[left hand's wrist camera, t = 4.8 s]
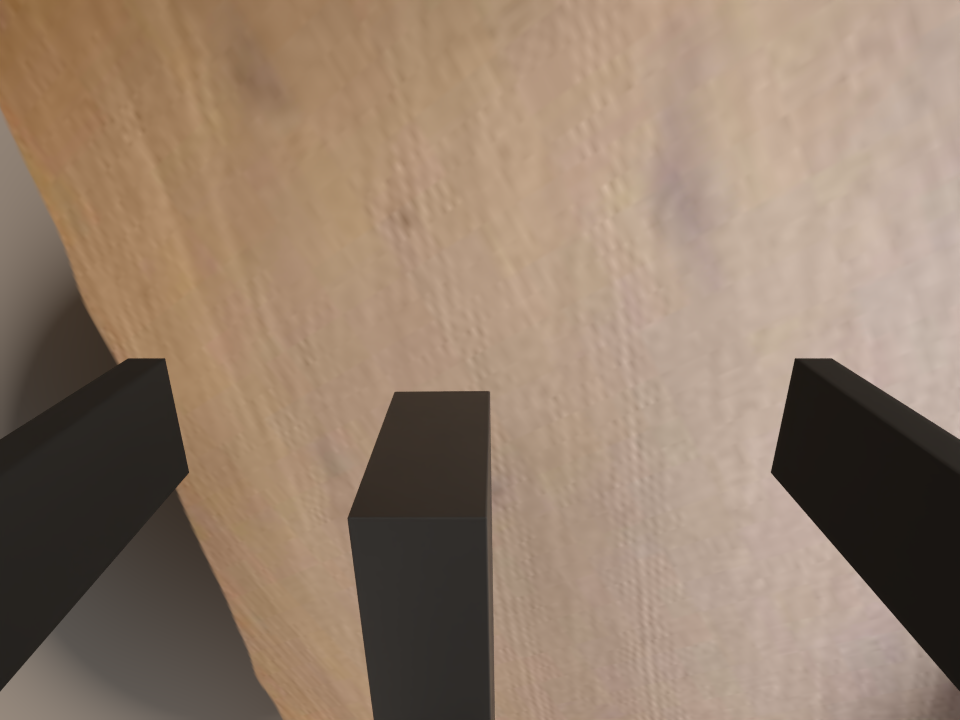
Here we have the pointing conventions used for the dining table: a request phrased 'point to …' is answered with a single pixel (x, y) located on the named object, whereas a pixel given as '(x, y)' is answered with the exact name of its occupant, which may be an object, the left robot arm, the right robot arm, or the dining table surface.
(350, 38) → the dining table surface
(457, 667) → the bar
